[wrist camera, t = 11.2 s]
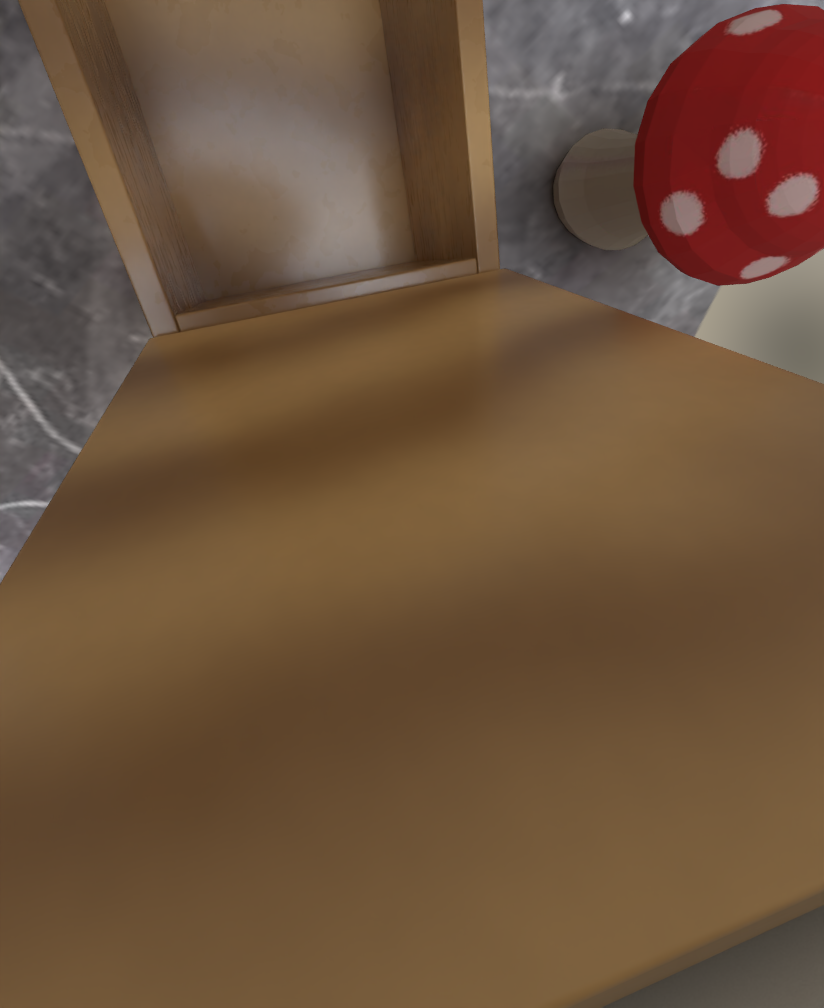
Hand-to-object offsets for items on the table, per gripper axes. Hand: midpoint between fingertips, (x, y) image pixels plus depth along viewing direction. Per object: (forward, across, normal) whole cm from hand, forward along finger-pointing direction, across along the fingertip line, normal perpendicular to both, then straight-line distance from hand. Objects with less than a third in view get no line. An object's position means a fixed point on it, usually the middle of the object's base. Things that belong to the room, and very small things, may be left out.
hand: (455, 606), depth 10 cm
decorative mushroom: (+21, -17, -8) cm, 28 cm away
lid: (+2, 0, -4) cm, 5 cm away
